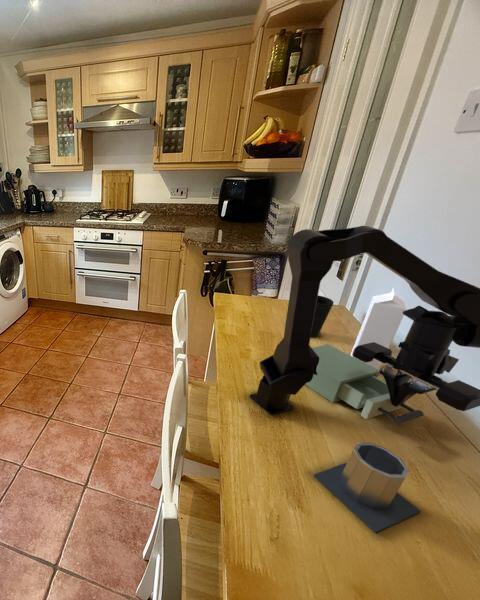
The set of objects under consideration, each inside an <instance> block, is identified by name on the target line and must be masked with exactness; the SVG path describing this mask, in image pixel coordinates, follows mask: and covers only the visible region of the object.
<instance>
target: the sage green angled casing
mask: <svg viewBox="0 0 480 600" xmlns="http://www.w3.org/2000/svg"><path fill="white" fill-rule="evenodd" d="M311 348H312V349H313V350H314V352H315V353H316V354H317V355H318V357H319V363H318V365H317V368H316V372H317V375H315V374H313V378H312V380H311V381H310V382H307V383H306V384H305V385H304V386H307V387H308V388H310V389H312V390H313V391H314V392H316V393H317V394H318V395H320V396H322V397H323V398H325V399H327V400H328V401H329V402H331V403H333V404H334V403H337V402H341V401H343V400H342V399H340V398H339V397H337V396H338V393H339V391H340V388H341V386H342V384H343V383H346V382H350V381H354V380H358V379H361V378H365V377H369V376H372V375H374V376H376V377H378V378H379V375H380V373H379V372H380V370H377V369H375V368H373V367H371V366H369V365H367V364H366V363H364V362H362V361H360V360H358V359H356V358H354V357H352V356H350V354H348V353H346V352H344V351H342V350H340V349H338V348H336V347H334V346H332V345H331V344H328V343H327V344H323V345H318V346H312V347H311Z"/></svg>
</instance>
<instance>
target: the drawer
mask: <svg viewBox="0 0 480 600" xmlns="http://www.w3.org/2000/svg"><path fill="white" fill-rule="evenodd" d="M337 397H339V398H340V399H342V400H341V401H343V402H344V403H346V404H348V405H349V406H351V407H353V408H354V409H356V410H358V409H362V408H363V409H362V410H361V413H360V416H361V417H362V418H364V419H366V420H368V419H370V418H374V417H377V416H381V415H385V416H387V417H388V418H390V419H391V420H392V422H393V423H394V424H395V425H402V424H404V423H407V422H410V421H413V420H416V419H419V418H422V417H424V416H425V413H424V411H422V410H420V409H415V408H413V407H411V406H409V405H407V404H406V402H407V401H405V402H404V403H402V404H401V405H400V406H397V407H395V406H393V405H392V404H391V399H390V395H389V391H388V387H387V384H386V382H385V380H383V379H381V378H379V376H378V377H376V376H374V375H372V376H369V377H365V378H361V379H358V380H354V381H350V382H346V383H343V384H342V386H341V388H340V391H339V393H338V396H337ZM402 408H403V409H405V410H407V411H408V412H405V413H403V414H399V415H397V416H396V415H394V414H392V413H390V412H392V411H396V410H399V409H402Z"/></svg>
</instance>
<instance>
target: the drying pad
mask: <svg viewBox="0 0 480 600" xmlns="http://www.w3.org/2000/svg"><path fill="white" fill-rule="evenodd" d="M346 464H347V462H344V463H341V464H338V465H336V466H333V467H330V468H327V469H324V470H322V471H319V472H317V473H314V474H313V477H314V478H315V479H316V480H317V481H318V482H319V483H320V484H321V485H323V486H324V488H326V489H327V490H328V491H329V492H330V493H331V494H332V495H333V496H335V497H336V499H338V500H339V501H340V502H341V503H342V504H343V505H344V506H345V507H347V509H349V510H350V511H351V512H352V513H353V514H354V515H355V516H356V517H357V518H358V519H359V520H361V522H363V523H364V524H365V525H366V527H368V528H369V529H370V530H371V531H373V532H374V534H377V533H379V532H382V531H384V530H386V529H388V528H390V527H393V526H396V525H397V524H399V523H401V522H404V521H405V520H407V519H410V518H412V517H414V516H416V515H419V514H421V510H420V509H419V508H418V507H416V506H415V505H414V504H412V503H411V502H410V501H408V500H407V499H406V498H405V497H404V496H402V494H400V493H399V492H397V493H396V495H395V496H394V498H393V500H392V502H391V503H390V505H389V507H388V509H386V510H374V509H371V508H369V507H367V506H365V505H363V504H360V503H358V502H357V501H355V500H354V499H353V498H352V497H351V496H350V495H349V494H347V493H346V492H345V491H344V489H343V487H342V485H341V483H340V480H339V479H340V477H341V475H342V473H343V470H344V468H345V466H346Z"/></svg>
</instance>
